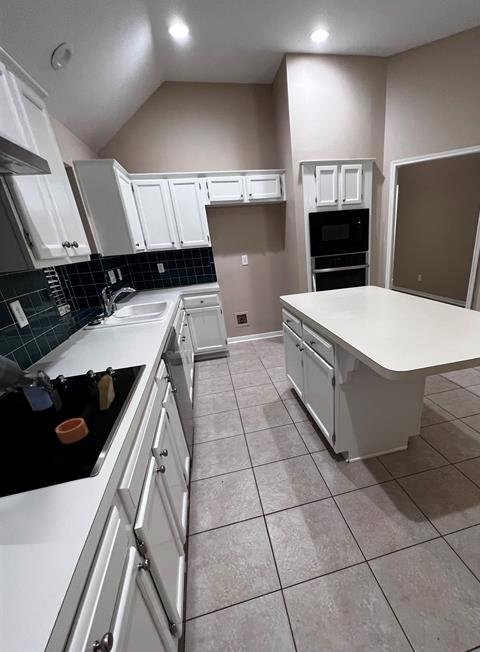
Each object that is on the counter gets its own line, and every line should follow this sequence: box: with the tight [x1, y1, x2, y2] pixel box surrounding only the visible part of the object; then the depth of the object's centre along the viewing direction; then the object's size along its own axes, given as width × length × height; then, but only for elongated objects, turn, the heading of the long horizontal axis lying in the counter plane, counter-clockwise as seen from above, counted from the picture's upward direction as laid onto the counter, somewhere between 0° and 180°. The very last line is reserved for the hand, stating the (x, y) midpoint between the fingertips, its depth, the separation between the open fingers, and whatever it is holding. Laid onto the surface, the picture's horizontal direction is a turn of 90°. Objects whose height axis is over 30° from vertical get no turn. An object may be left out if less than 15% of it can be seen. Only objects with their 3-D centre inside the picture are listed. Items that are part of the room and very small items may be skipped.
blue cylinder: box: [22, 382, 54, 412], centre depth 84 cm, size 4×4×8 cm
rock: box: [97, 374, 116, 411], centre depth 111 cm, size 11×9×10 cm
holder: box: [55, 417, 89, 445], centre depth 95 cm, size 7×7×4 cm
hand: (40, 390), depth 85 cm, fingers closed on blue cylinder, 4 cm apart
